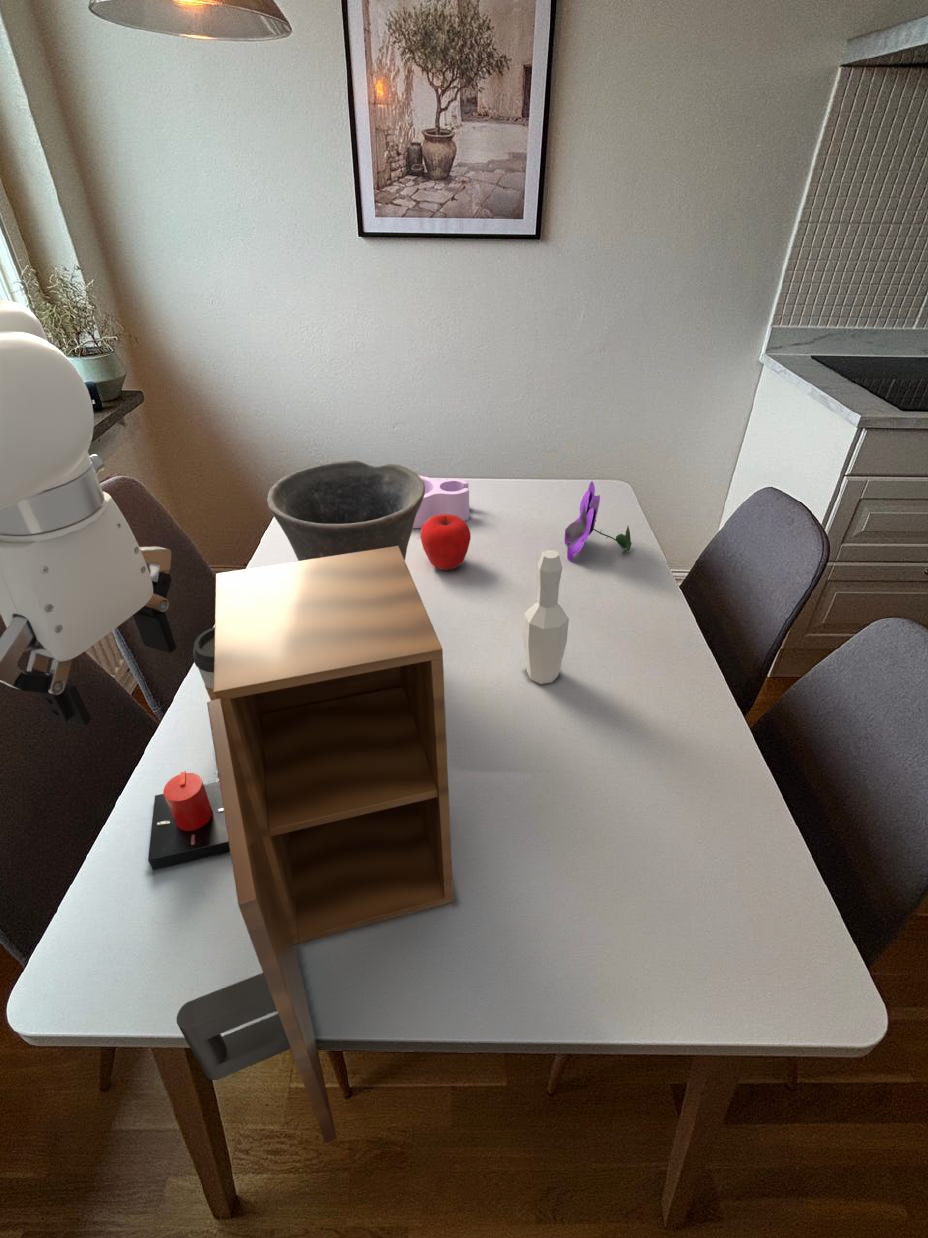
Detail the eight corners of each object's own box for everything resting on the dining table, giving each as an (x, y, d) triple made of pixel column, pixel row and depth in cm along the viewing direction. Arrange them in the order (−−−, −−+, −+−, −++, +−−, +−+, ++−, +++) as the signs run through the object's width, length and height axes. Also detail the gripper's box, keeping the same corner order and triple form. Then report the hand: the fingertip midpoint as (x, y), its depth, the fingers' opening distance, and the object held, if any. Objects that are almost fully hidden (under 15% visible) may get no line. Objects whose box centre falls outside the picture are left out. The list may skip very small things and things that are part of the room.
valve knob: (212, 826, 83) (201, 794, 80) (174, 835, 82) (161, 803, 79) (213, 798, 86) (202, 767, 83) (176, 806, 85) (163, 775, 82)
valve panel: (240, 850, 82) (236, 838, 81) (152, 870, 80) (147, 859, 79) (238, 788, 90) (235, 777, 89) (159, 805, 88) (154, 794, 87)
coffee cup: (203, 733, 99) (176, 652, 90) (236, 697, 105) (214, 617, 96) (253, 746, 96) (230, 664, 88) (283, 708, 103) (265, 628, 94)
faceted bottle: (514, 670, 109) (518, 550, 96) (545, 656, 112) (554, 538, 99) (539, 692, 105) (546, 570, 92) (570, 677, 108) (582, 557, 95)
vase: (272, 665, 111) (233, 496, 94) (362, 604, 125) (343, 447, 108) (372, 719, 101) (349, 540, 83) (458, 645, 115) (454, 479, 97)
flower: (606, 555, 148) (553, 529, 145) (648, 500, 140) (592, 471, 137) (616, 592, 136) (558, 564, 133) (662, 534, 128) (601, 503, 125)
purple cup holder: (468, 501, 160) (467, 474, 155) (469, 526, 149) (469, 497, 145) (382, 504, 159) (380, 476, 155) (378, 529, 149) (375, 500, 145)
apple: (412, 564, 137) (409, 515, 130) (449, 548, 142) (448, 500, 135) (443, 584, 131) (441, 533, 124) (480, 566, 135) (480, 517, 129)
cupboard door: (247, 1181, 56) (110, 950, 35) (222, 978, 70) (113, 726, 49) (336, 1138, 58) (256, 899, 38) (295, 950, 72) (220, 698, 51)
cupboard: (453, 901, 76) (442, 648, 56) (290, 946, 73) (213, 692, 52) (417, 782, 91) (398, 545, 70) (280, 814, 87) (215, 573, 66)
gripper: (97, 444, 55) (157, 615, 65) (-120, 548, 42) (-2, 741, 52) (171, 457, 52) (222, 632, 63) (-35, 571, 40) (71, 768, 50)
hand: (120, 681), depth 57 cm, fingers open, 9 cm apart
